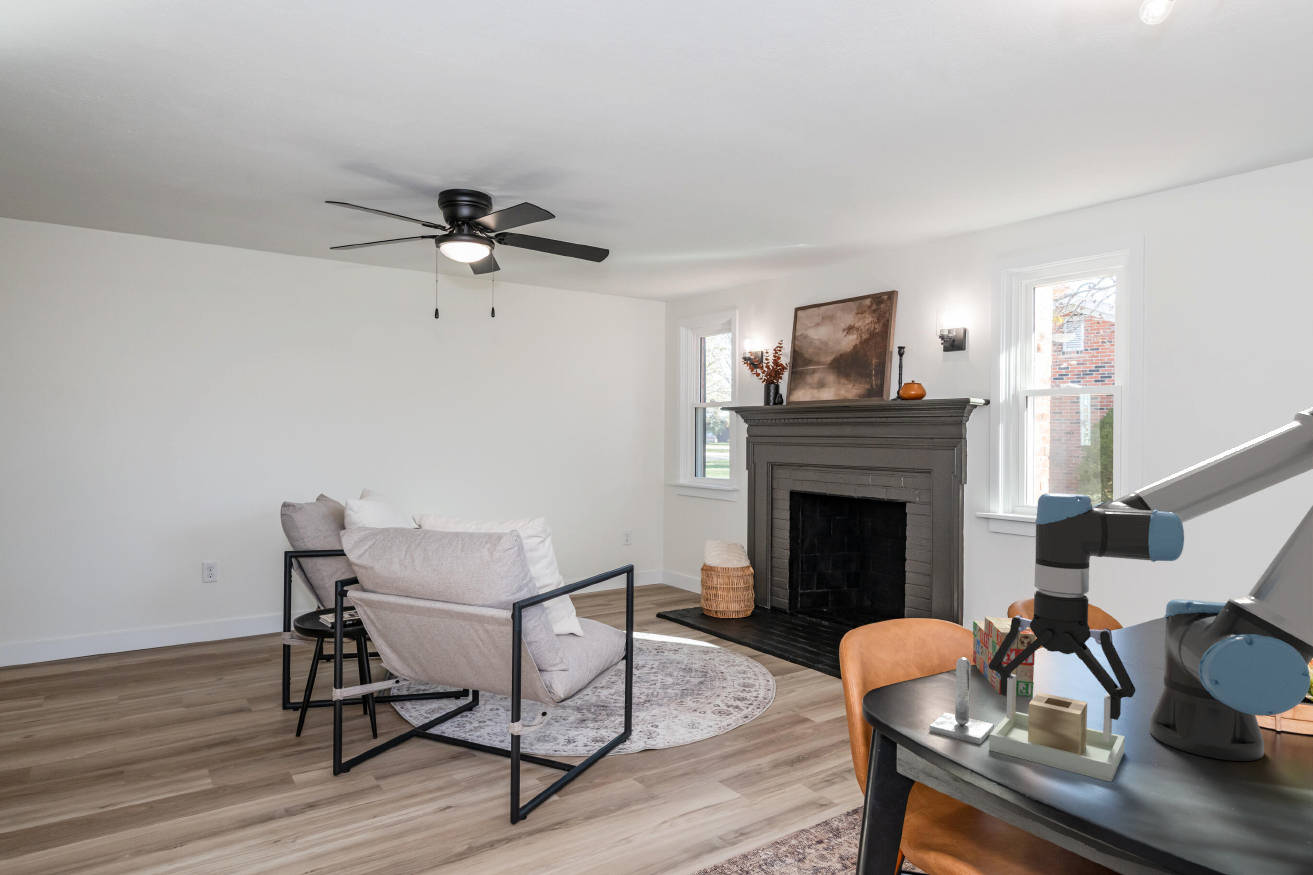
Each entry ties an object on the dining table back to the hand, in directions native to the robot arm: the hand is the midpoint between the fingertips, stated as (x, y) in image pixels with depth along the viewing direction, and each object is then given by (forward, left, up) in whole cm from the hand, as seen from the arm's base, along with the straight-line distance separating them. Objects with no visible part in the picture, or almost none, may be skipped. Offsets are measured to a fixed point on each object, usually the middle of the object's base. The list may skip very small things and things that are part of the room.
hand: (1057, 727), depth 120 cm
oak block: (0, 0, -3) cm, 3 cm away
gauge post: (+14, +2, -4) cm, 15 cm away
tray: (0, 0, -4) cm, 4 cm away
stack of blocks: (+16, -33, -4) cm, 37 cm away
